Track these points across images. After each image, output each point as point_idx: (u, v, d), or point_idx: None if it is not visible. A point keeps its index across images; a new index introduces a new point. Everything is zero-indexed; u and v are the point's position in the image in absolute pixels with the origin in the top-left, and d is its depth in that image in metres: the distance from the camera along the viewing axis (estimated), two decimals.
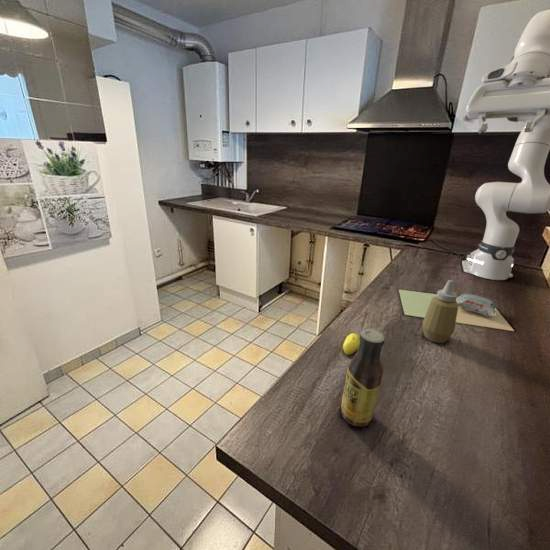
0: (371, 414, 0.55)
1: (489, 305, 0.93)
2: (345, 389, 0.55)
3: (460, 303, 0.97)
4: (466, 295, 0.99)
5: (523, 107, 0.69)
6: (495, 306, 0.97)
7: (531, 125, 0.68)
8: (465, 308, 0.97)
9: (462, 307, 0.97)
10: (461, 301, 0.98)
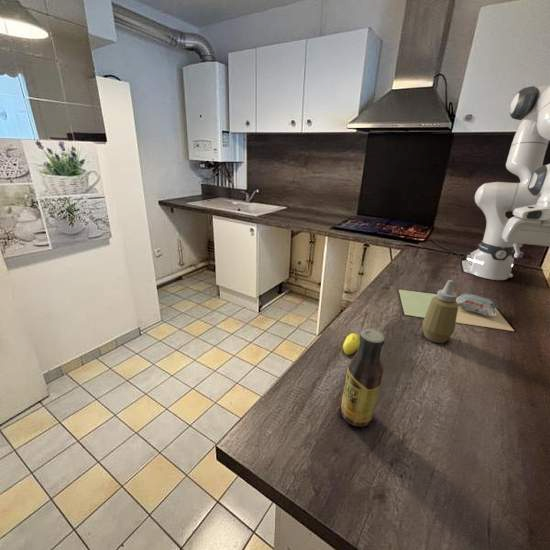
0: (371, 414, 0.55)
1: (489, 305, 0.93)
2: (345, 389, 0.55)
3: (460, 303, 0.97)
4: (466, 295, 0.99)
5: None
6: (495, 306, 0.97)
7: None
8: (465, 308, 0.97)
9: (462, 307, 0.97)
10: (461, 301, 0.98)
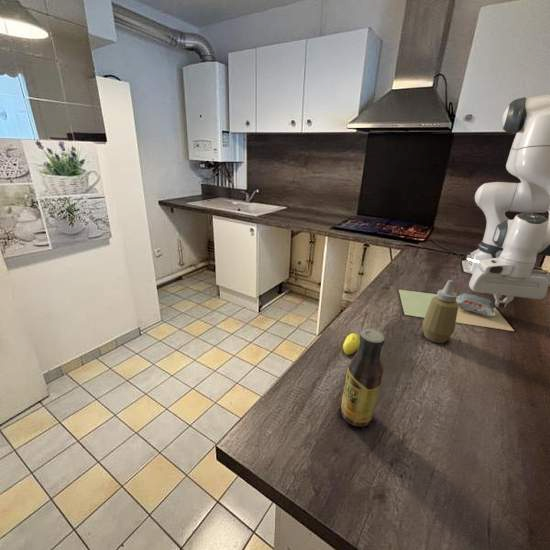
0: (371, 414, 0.55)
1: (488, 305, 0.94)
2: (345, 389, 0.55)
3: (459, 303, 0.97)
4: (465, 295, 0.99)
5: (515, 296, 0.92)
6: (494, 306, 0.97)
7: (504, 305, 0.94)
8: (464, 308, 0.97)
9: (461, 307, 0.98)
10: (460, 301, 0.98)
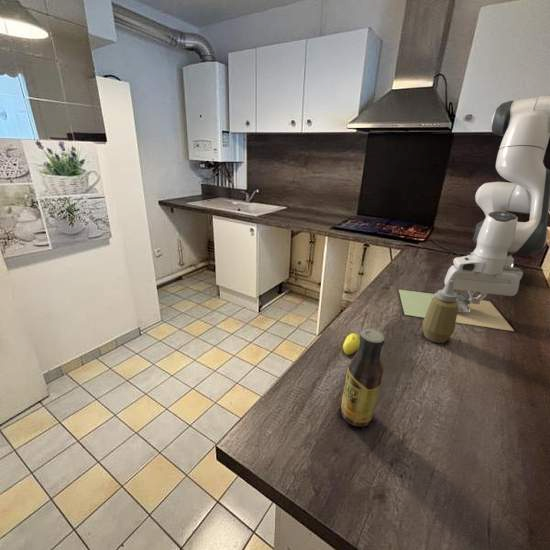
0: (371, 414, 0.55)
1: (463, 302, 0.95)
2: (345, 389, 0.55)
3: None
4: None
5: (488, 292, 0.93)
6: (468, 302, 0.99)
7: (478, 302, 0.96)
8: None
9: None
10: None
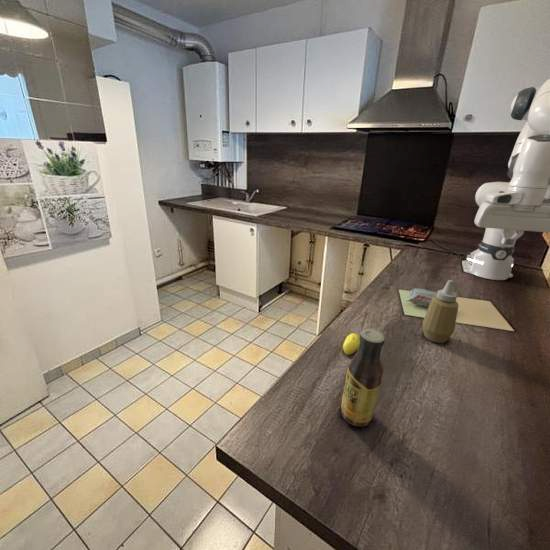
0: (371, 414, 0.55)
1: None
2: (345, 389, 0.55)
3: (412, 298, 1.00)
4: (416, 290, 1.02)
5: (524, 229, 0.84)
6: None
7: (513, 242, 0.87)
8: (417, 303, 1.00)
9: (414, 302, 1.00)
10: (413, 296, 1.00)
